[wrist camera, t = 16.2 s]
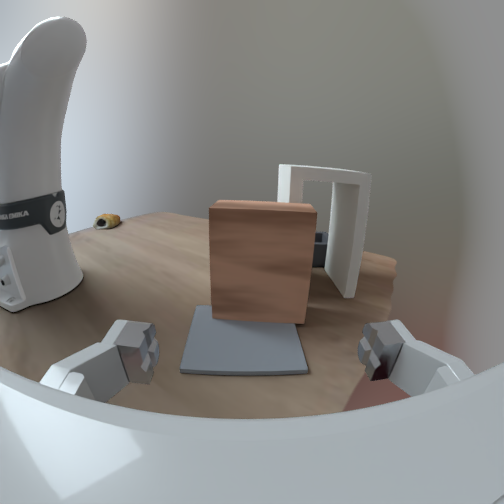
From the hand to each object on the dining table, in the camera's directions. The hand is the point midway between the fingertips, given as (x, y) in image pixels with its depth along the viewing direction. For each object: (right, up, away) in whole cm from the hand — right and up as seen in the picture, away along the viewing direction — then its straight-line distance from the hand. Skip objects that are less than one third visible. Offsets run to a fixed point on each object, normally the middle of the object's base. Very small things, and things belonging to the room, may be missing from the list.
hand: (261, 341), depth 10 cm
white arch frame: (+8, -1, +30) cm, 31 cm away
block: (0, -3, +21) cm, 22 cm away
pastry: (-41, +10, +59) cm, 73 cm away
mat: (-1, -5, +17) cm, 18 cm away
